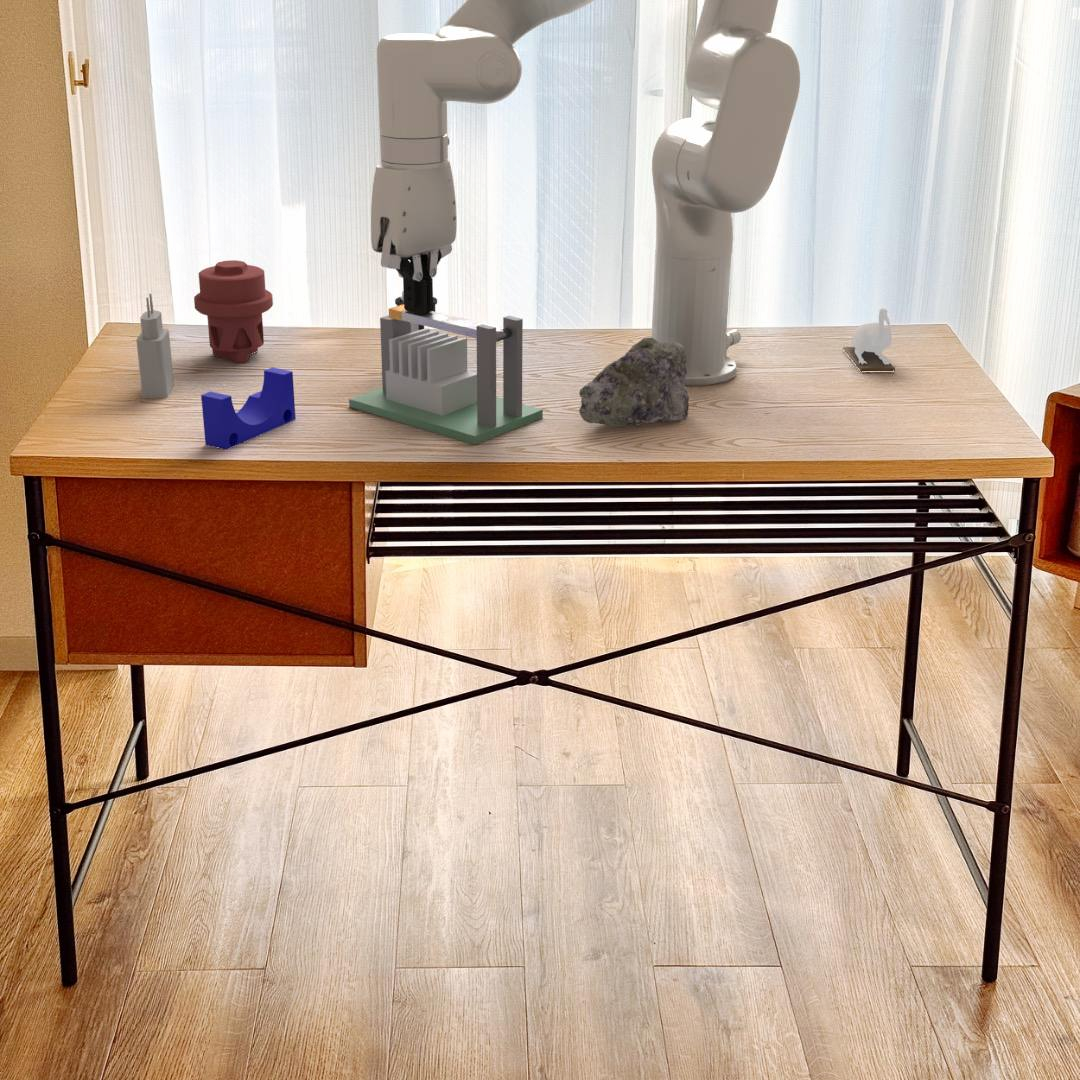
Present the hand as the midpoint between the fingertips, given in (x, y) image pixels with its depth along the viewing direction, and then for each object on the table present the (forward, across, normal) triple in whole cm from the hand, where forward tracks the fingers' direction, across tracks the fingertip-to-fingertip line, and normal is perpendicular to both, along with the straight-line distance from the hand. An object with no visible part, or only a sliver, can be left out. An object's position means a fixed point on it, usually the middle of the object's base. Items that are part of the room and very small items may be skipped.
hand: (418, 310), depth 171 cm
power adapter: (+12, +17, -28) cm, 35 cm away
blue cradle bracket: (+12, +19, -9) cm, 24 cm away
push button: (+12, -10, -10) cm, 18 cm away
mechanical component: (+12, +1, -32) cm, 34 cm away
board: (+12, 0, +4) cm, 12 cm away
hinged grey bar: (+1, 0, +5) cm, 5 cm away
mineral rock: (+12, -12, +23) cm, 28 cm away
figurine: (+12, -50, +34) cm, 62 cm away
